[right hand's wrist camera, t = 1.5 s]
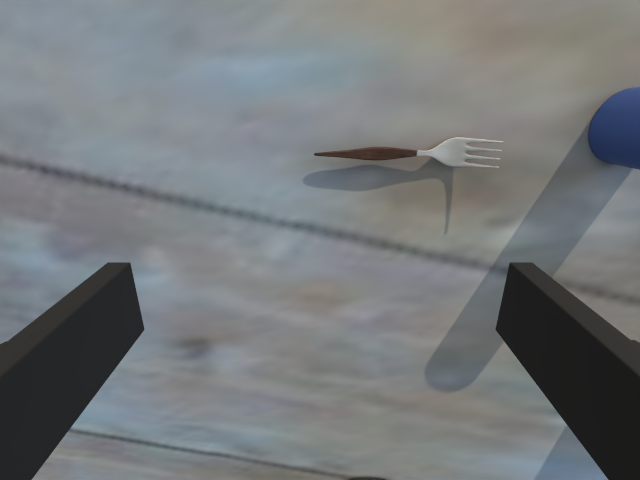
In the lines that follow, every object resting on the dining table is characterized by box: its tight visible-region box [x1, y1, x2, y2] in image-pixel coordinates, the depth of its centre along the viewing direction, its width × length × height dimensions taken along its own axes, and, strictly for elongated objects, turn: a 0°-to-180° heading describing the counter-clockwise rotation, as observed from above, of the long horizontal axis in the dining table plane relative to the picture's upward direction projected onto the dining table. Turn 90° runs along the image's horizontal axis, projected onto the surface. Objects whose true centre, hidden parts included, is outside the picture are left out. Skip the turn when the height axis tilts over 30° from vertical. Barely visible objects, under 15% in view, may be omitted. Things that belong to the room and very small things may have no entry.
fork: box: [314, 137, 503, 168], centre depth 32 cm, size 3×16×2 cm, turn 91°
